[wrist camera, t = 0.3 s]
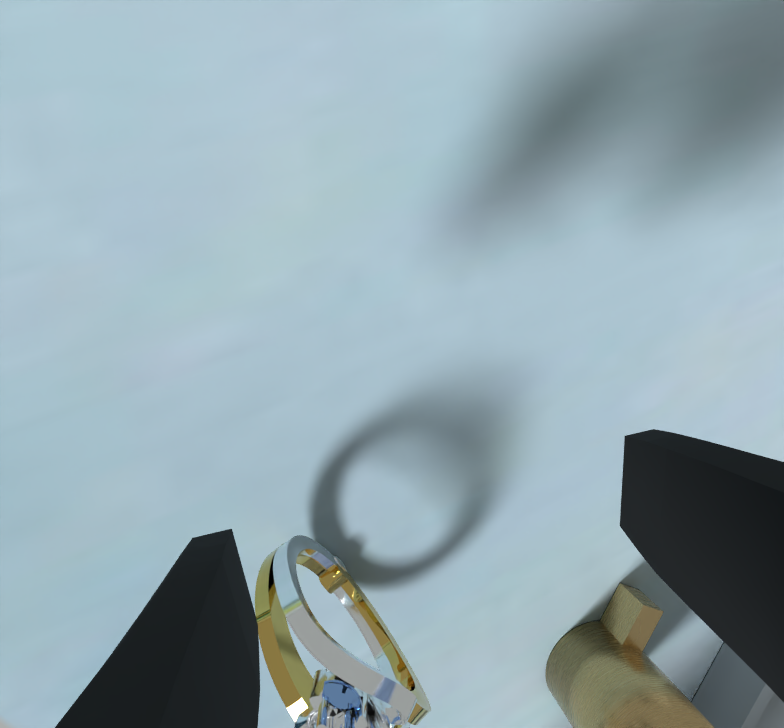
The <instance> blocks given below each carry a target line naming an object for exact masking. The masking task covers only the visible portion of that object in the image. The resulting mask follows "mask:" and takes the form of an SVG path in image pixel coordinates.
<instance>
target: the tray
mask: <svg viewBox="0 0 784 728" xmlns="http://www.w3.org/2000/svg"><path fill="white" fill-rule="evenodd" d="M691 703H692V704H693V705H694V706H695V707H696V708H697V709H698V710H699V711H700V712H701V714H702V715H703V716H704V717H705V718H706V719H707V720H708V721H709V722H710V723H711V724H712V725H713V726H714V727H715V728H784V702H783V701H782V700H781V699H780V698H779V697H778V696H777V695H776V694H775V693H774V692H773V691H772V690H771V688H770V687H769V686H768V685H767V684H766V683H765V682H764V681H763V680H762V679H761V678H760V677H759V676H758V675H757V674H756V673H755V672H754V671H753V670H752V669H751V668H750V667H749V666H748V665H747V664H746V663H745V662H744V661H743V660H742V659H741V658H740V657H739V656H738V655H737V654H736V653H735V652H734V651H733V650H732V649H731V648H730V647H729V646H728V645H727V644H726V643H725V642H724V644H723V645H722V647H721V649H720V651H719V653H718V655H717V656H716V658H715V660H714V662H713V664H712V666H711V667H710V669H709V671H708V673H707V675H706V677H705V678H704V680H703V682H702V684H701V686H700V688H699V689H698V691H697V693H696V695H695V697H694V699H693V700H692V702H691Z"/></svg>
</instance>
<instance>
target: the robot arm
mask: <svg viewBox="0 0 784 728" xmlns="http://www.w3.org/2000/svg"><path fill="white" fill-rule="evenodd" d="M620 527H621V528H622V529H623V531H624V532H625V533H626V535H627V536H628V538H629V539H630V540H631V542H632V543H633V544H634V546H635V547H636V548H637V550H638V551H639V552H640V553H641V555H642V556H643V557H644V558H645V560H646V561H647V562H648V563H649V565H650V566H651V567H652V568H653V570H654V571H655V572H656V573H657V574H658V575H659V576H660V577H661V579H662V580H663V581H664V582H665V583H666V584H667V585H668V586H669V587H670V588H671V589H672V590H673V591H674V592H675V593H676V594H677V595H678V596H679V597H680V598H681V599H682V600H683V601H684V602H685V603H686V604H687V605H688V606H689V607H690V608H691V609H692V610H693V611H694V612H695V613H696V614H697V615H698V616H699V617H700V618H701V619H702V620H703V621H704V622H705V623H706V624H707V625H708V626H709V627H710V628H711V629H712V630H713V631H714V632H715V633H716V634H717V635H718V636H719V637H720V638H721V639H722V640H723V641H724V642H725V643H726V644H727V645H728V646H729V647H730V648H731V649H732V650H733V651H734V652H735V653H736V654H737V655H738V656H739V657H740V658H741V659H742V660H743V661H744V662H745V663H746V664H747V665H748V666H749V667H750V668H751V669H752V670H753V671H754V672H755V673H756V674H757V675H758V676H759V677H760V678H761V679H762V680H763V681H764V682H765V683H766V684H767V685H768V686H769V687H770V688H771V690H772V691H773V692H774V693H775V694H776V695H777V696H778V697H779V698H780V699H781V700H782V701H783V702H784V462H781V461H777V460H774V459H770V458H766V457H763V456H759V455H756V454H752V453H748V452H745V451H741V450H737V449H734V448H730V447H726V446H723V445H719V444H715V443H712V442H708V441H704V440H700V439H696V438H692V437H688V436H684V435H680V434H675V433H671V432H666V431H660V430H654V429H653V430H648V431H644V432H640V433H636V434H631V435H627V436H625V444H624V462H623V480H622V498H621V516H620ZM259 697H260V671H259V641H258V623H257V620H256V616H255V612H254V609H253V605H252V601H251V598H250V594H249V590H248V587H247V583H246V579H245V576H244V572H243V568H242V565H241V561H240V557H239V554H238V550H237V546H236V543H235V539H234V535H233V532H232V529H229V530H225V531H220V532H216V533H212V534H208V535H203V536H199V537H195V538H192V540H191V541H190V542H189V544H188V545H187V546H186V548H185V549H184V551H183V552H182V554H181V555H180V556H179V558H178V559H177V561H176V562H175V564H174V565H173V567H172V568H171V570H170V571H169V573H168V574H167V576H166V577H165V579H164V580H163V581H162V583H161V584H160V586H159V587H158V589H157V590H156V592H155V593H154V595H153V596H152V598H151V599H150V600H149V602H148V603H147V605H146V606H145V608H144V609H143V611H142V612H141V613H140V615H139V616H138V618H137V619H136V620H135V622H134V623H133V625H132V626H131V627H130V629H129V630H128V632H127V633H126V634H125V636H124V637H123V639H122V640H121V641H120V643H119V644H118V646H117V647H116V648H115V650H114V651H113V653H112V654H111V655H110V657H109V658H108V660H107V661H106V662H105V664H104V665H103V666H102V668H101V669H100V670H99V672H98V673H97V674H96V675H95V677H94V678H93V679H92V681H91V682H90V683H89V685H88V686H87V687H86V688H85V690H84V691H83V692H82V694H81V695H80V696H79V697H78V699H77V700H76V701H75V703H74V704H73V705H72V706H71V708H70V709H69V710H68V712H67V713H66V714H65V715H64V717H63V718H62V719H61V721H60V722H59V723H58V724H57V726H56V727H55V728H257V726H258V712H259Z"/></svg>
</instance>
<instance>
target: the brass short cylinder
mask: <svg viewBox="0 0 784 728" xmlns="http://www.w3.org/2000/svg"><path fill="white" fill-rule="evenodd" d="M662 614H663V611H662V610H661V609H660V608H659V607H658V606H656V605H655V604H654V603H653V602H652V601H651V600H650V599H649V598H648V597H646V596H645V595H644V594H643V593H642V592H641V591H640V590H638V589H636V588H633V587H630V586H627V585H624V584H621V583H620V584H619V586H618V587H617V589H616V591H615V593H614V595H613V597H612V599H611V601H610V603H609V605H608V607H607V609H606V610H605V612H604V614H603V616H602V618H601V620H600V621H593V622H588V623H585V624H582V625H580V626H578V627H576V628H574V629H572V630H571V631H570V632H568V633H567V634H566V635H565V636H564V637H562V639H561V640H560V641H559V642H558V643H557V644H556V646H555V647H554V649H553V650H552V652H551V654H550V656H549V659H548V662H547V666H546V682H547V686H548V688H549V690H550V692H551V693H552V695H553V697H554V698H555V700H556V701H557V703H558V704H559V706H560V708H561V709H562V711H563V712H564V714H565V715H566V717H567V719H568V720H569V722H570V723H571V725H572V727H573V728H715V727H714V726H713V725H712V724H711V723H710V722H709V721H708V720H707V719H706V718H705V717H704V716H703V715H702V714H701V712H700V711H699V710H698V709H697V708H696V707H695V706H694V705H693V704H692V703H691V702H690V701H689V700H688V699H687V698H686V697H685V696H684V694H683V693H682V692H681V691H680V690H679V689H678V688H677V687H676V686H675V685H674V684H673V683H672V682H671V681H670V680H669V679H668V678H667V676H666V675H665V674H664V673H663V672H662V671H661V670H660V669H659V668H658V667H657V666H656V665H655V664H654V663H653V662H652V661H651V660H650V658H649V657H648V656H647V655H646V654H645V653H644V652H643V650H644V648H645V646H646V644H647V642H648V640H649V638H650V636H651V634H652V633H653V631H654V629H655V627H656V625H657V623H658V621H659V619H660V618H661V616H662Z"/></svg>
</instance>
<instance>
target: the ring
mask: <svg viewBox="0 0 784 728" xmlns="http://www.w3.org/2000/svg"><path fill="white" fill-rule="evenodd" d="M296 563H297V564H300V565H303V566H305V567H307V568H308V569H310V570H311V571H313V572H314V573H315V574H316V575H317V576H319V580H320V582H321V584H322V585H323V586H324V588H325V589H326V590H327V591H328V592H329V593H334V594H335V595H336V596H337V597H338V599H339V600H340V601H341V603H342V604H343V605H344V607H345V608H346V609H347V611H348V612H349V614H350V615H351V617H352V618H353V620H354V621H355V623H356V624H357V626H358V628H359V629H360V631H361V633H362V634H363V636H364V638H365V640H366V642H367V644H368V646H369V648H370V650H371V652H372V654H373V656H374V658H375V660H376V663H377V665H378V668H379V670H378V669H376V668H375V667H373V666H371V665H369V664H368V663H366V662H364V661H363V660H361V659H359V658H358V657H356V656H355V655H353V654H352V653H350V652H349V651H347V650H346V649H345V648H343V647H342V646H341V645H340V644H338V643H337V642H336V641H335V640H334V639H333V638H332V637H331V636H330V635H329V634H328V633H327V632H326V631H325V630H324V629H323V628H322V626H321V625H320V624H319V622H318V621H317V620H316V618H315V617H314V615H313V614H312V612H311V610H310V608H309V606H308V604H307V602H306V600H305V598H304V596H303V593H302V590H301V587H300V584H299V581H298V576H297V570H296ZM255 613H256V620H257V623H258V634H259V639H260V643H261V647H262V651H263V654H264V658H265V661H266V664H267V667H268V669H269V672H270V675H271V677H272V679H273V682H274V684H275V686H276V688H277V691H278V693H279V695H280V697H281V699H282V701H283V702H284V704H285V706H286V708H287V710H288V711H289V713H290V715H291V716H292V718H293V719H294V721H295V727H294V728H410V723H411V724H413V725H418V724H419V723H420V722H421V721H422V719H423V718H424V717H425V716H426V715H427V714H428V713H429V712H430V711H431V707H430V704H429V701H428V699H427V697H426V694H425V692H424V690H423V688H422V686H421V685H420V683H419V681H418V679H417V677H416V675H415V674H414V672H413V670H412V668H411V666H410V665H409V663H408V661H407V659H406V658H405V656H404V654H403V653H402V651H401V649H400V648H399V646H398V644H397V643H396V641H395V639H394V638H393V636H392V635H391V633H390V631H389V630H388V628H387V627H386V625H385V624H384V622H383V620H382V619H381V617H380V616H379V614H378V613H377V612H376V610H375V609H374V607H373V606H372V604H371V603H370V601H369V600H368V599H367V597H366V596H365V594H364V593H363V592H362V590H361V589H360V588H359V586H358V585H357V584H356V582H355V581H354V580H353V579H352V577H351V576H350V575H349V574H348V572H347V568H346V567H345V565H344V564H343V562H342V561H341V560H340V559H339V558H338V557H337V556H336V555H335V556H333V555H332V554H331V553H330V552H329V551H328V550H326V549H325V548H324V547H323V546H322V545H320V544H319V543H318V542H316V541H315V540H313V539H311V538H309V537H307V536H303V535H297V536H294V537H293V538H291V539H290V540H288V541H287V542H285V543H284V544H282V545H281V546H279V547H278V548H277V549H275V550H274V551H273V552H271V553H270V554H269V555H268V556H267V557H266V559H265V560H264V562H263V564H262V566H261V568H260V571H259V574H258V578H257V583H256V591H255ZM286 618H287V620H288V622H289V624H290V626H291V628H292V630H293V631H294V633H295V634H296V636H297V637H298V639H299V640H300V642H301V643H302V644H303V645H304V647H305V648H306V649H307V650H308V651H309V652H310V654H311V655H312V656H313V657H314V658H315V659H316V660H318V661H319V662H320V663H321V664H322V665H323V666H324V667H326V668H327V669H328V670H329V672H327V669H322V670H318V671H315V675H314V679H313V678H312V676H311V675H310V673H309V672H308V670H307V669H306V667H305V665H304V664H303V662H302V660H301V658H300V656H299V654H298V652H297V650H296V647H295V645H294V643H293V640H292V637H291V635H290V632H289V628H288V625H287V621H286Z"/></svg>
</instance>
